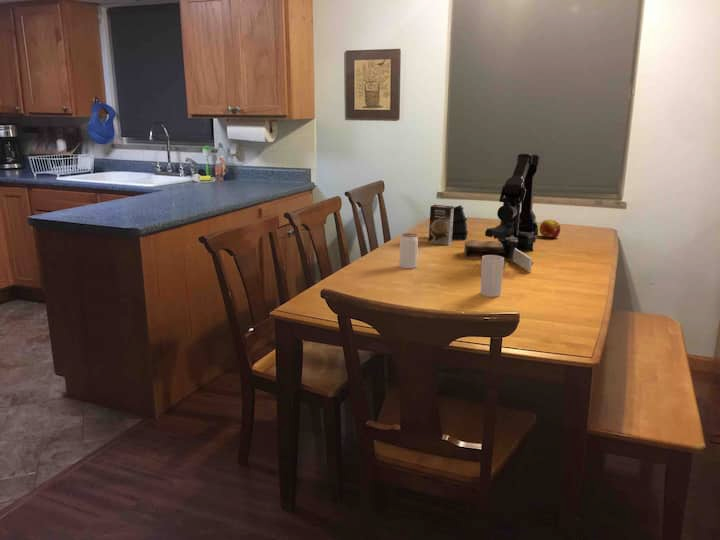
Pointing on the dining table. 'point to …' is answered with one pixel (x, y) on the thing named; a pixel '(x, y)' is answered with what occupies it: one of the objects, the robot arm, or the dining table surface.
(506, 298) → the dining table surface
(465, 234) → the black piece
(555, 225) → the fruit
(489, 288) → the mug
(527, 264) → the door
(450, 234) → the coffee box
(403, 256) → the can
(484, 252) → the walnut box
